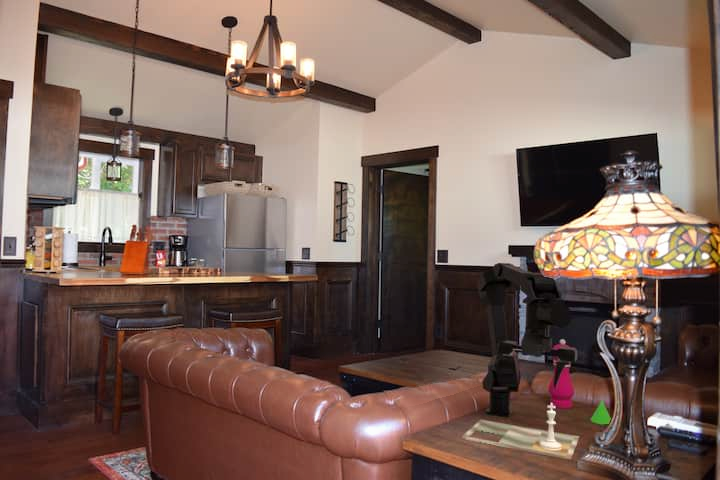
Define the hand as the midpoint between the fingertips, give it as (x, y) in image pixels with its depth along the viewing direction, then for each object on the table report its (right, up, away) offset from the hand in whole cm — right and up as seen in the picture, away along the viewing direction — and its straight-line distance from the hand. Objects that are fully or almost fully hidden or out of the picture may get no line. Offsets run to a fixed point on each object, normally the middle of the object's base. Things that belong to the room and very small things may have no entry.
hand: (535, 385), depth 138 cm
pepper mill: (+17, -14, +28) cm, 35 cm away
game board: (-5, -12, -5) cm, 14 cm away
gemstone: (+22, -14, +13) cm, 29 cm away
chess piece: (0, -11, -12) cm, 16 cm away
